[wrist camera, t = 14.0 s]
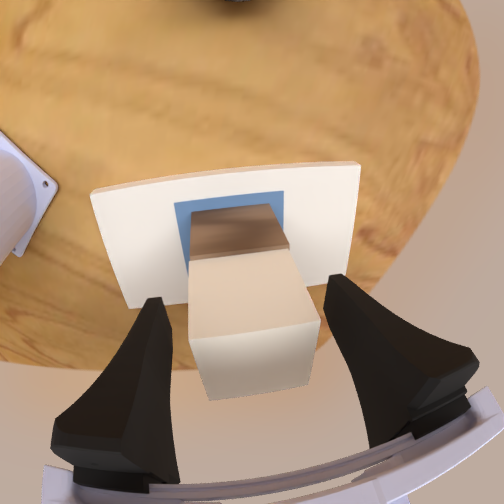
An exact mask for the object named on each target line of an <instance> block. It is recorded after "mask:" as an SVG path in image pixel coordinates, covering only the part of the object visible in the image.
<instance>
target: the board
mask: <svg viewBox="0 0 504 504" xmlns="http://www.w3.org/2000/svg"><path fill="white" fill-rule="evenodd" d="M360 170H361V165H360V164H358V163H356V162H355V161H332V162H305V163H287V164H272V165H259V166H247V167H236V168H227V169H217V170H209V171H200V172H193V173H185V174H178V175H171V176H164V177H158V178H152V179H146V180H140V181H134V182H128V183H123V184H118V185H112V186H107V187H102V188H97V189H94V190H93V191H92V192H91V194H90V199H91V202H92V206H93V209H94V213H95V216H96V219H97V223H98V226H99V229H100V232H101V235H102V239H103V242H104V245H105V247H106V250H107V253H108V256H109V259H110V262H111V265H112V267H113V270H114V273H115V275H116V278H117V281H118V283H119V286H120V288H121V291H122V293H123V296H124V298H125V301H126V303H127V305H128V308H129V309H134V308H142V307H143V305H144V303H145V301H146V300H147V298H153V297H162V300H163V303H164V305H173V304H183V303H188V279H189V261H190V231H191V212H194V211H202V210H210V209H219V208H228V207H237V206H246V205H256V204H267V203H269V204H270V206H271V208H272V210H273V212H274V214H275V216H276V218H277V220H278V222H279V224H280V226H281V228H282V230H283V232H284V234H285V236H286V238H287V240H288V242H289V244H290V250H289V252H290V254H291V256H292V258H293V260H294V262H295V264H296V266H297V269H298V271H299V273H300V275H301V277H302V279H303V282H304V284H305V286H306V287H308V286H314V285H320V284H326V283H328V278H329V275H334V274H340V273H342V274H343V275H344V276H345V274H346V269H347V264H348V258H349V252H350V246H351V240H352V233H353V227H354V220H355V213H356V205H357V197H358V189H359V180H360Z"/></svg>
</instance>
